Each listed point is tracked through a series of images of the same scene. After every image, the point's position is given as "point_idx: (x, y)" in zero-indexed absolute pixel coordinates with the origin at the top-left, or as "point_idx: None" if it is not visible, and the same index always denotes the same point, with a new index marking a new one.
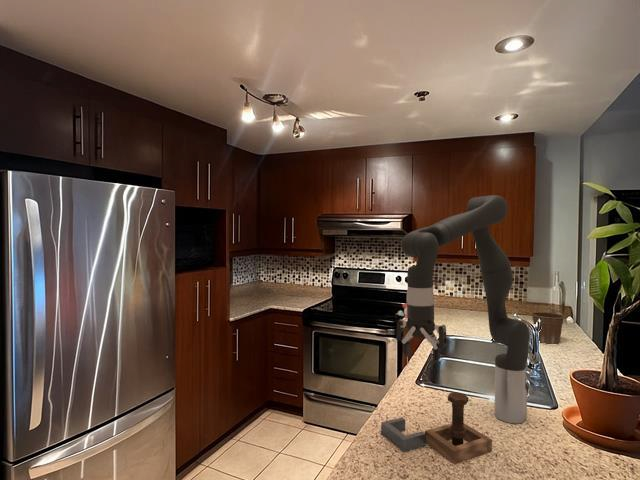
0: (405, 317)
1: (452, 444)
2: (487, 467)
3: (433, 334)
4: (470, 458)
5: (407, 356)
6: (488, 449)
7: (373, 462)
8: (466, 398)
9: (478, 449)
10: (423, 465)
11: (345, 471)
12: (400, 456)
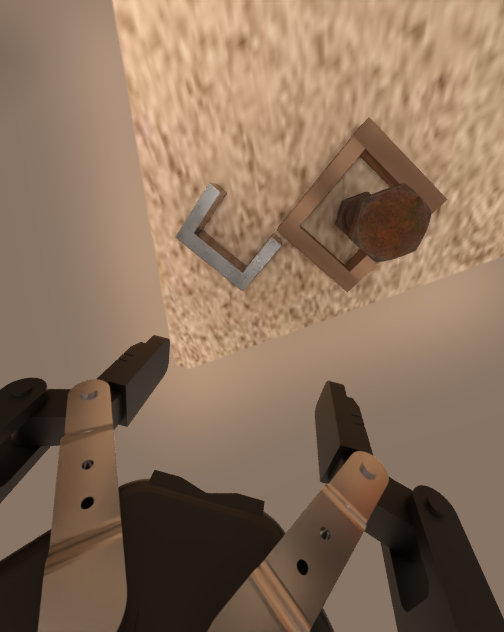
0: None
1: (343, 267)
2: (407, 269)
3: (335, 571)
4: None
5: (167, 364)
6: None
7: (211, 330)
8: (422, 237)
9: None
10: (288, 309)
11: (185, 363)
12: (245, 298)
